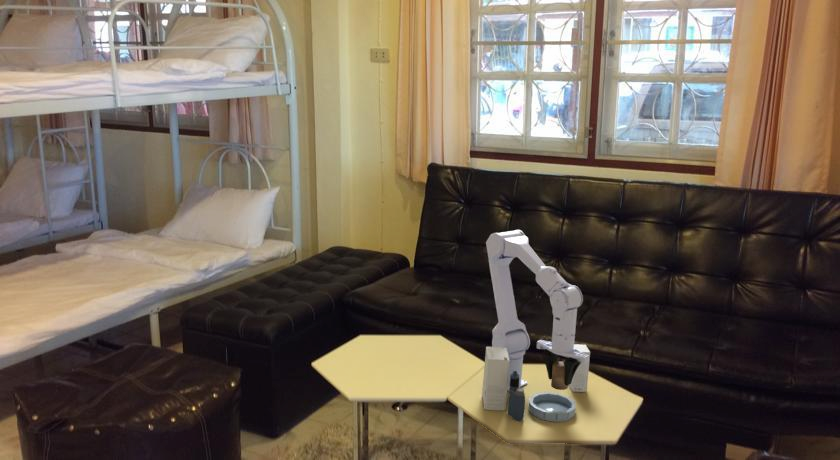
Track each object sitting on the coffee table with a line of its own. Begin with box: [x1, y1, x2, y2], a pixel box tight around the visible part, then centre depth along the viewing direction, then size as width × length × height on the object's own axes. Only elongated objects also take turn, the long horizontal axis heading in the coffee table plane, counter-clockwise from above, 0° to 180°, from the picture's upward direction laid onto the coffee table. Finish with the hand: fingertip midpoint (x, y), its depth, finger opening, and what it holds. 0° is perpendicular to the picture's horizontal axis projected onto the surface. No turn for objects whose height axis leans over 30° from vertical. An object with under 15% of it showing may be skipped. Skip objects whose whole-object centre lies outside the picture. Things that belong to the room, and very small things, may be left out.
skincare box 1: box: [481, 346, 510, 411], centre depth 189 cm, size 8×6×15 cm
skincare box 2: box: [568, 343, 591, 393], centre depth 201 cm, size 6×4×12 cm
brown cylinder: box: [550, 360, 569, 391], centre depth 186 cm, size 4×4×6 cm
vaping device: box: [507, 371, 526, 422], centre depth 183 cm, size 3×5×12 cm, turn 27°
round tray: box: [528, 391, 577, 423], centre depth 188 cm, size 12×12×2 cm
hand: (559, 381), depth 187 cm, fingers closed on brown cylinder, 4 cm apart
